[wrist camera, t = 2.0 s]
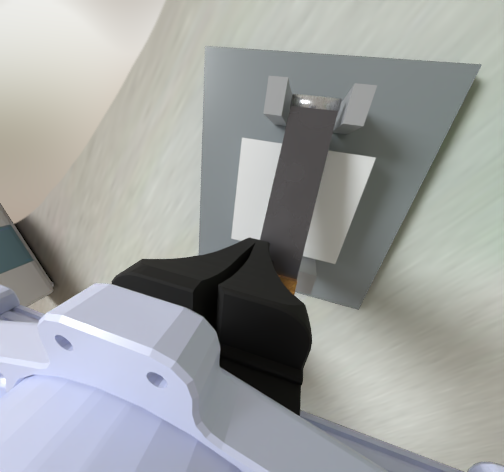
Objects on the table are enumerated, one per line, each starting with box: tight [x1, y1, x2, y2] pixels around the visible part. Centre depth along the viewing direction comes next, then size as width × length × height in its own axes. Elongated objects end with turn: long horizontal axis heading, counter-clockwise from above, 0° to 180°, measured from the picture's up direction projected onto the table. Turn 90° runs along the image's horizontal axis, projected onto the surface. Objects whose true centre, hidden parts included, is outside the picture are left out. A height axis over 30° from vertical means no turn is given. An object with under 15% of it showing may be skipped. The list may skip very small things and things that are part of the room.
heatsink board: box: [199, 46, 481, 310], centre depth 17 cm, size 22×20×6 cm
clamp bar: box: [260, 94, 342, 295], centre depth 13 cm, size 14×3×1 cm, turn 172°
